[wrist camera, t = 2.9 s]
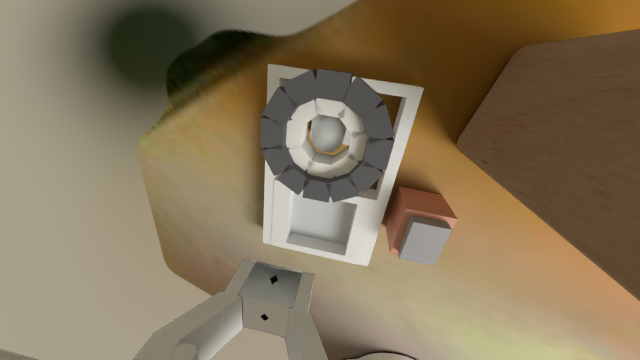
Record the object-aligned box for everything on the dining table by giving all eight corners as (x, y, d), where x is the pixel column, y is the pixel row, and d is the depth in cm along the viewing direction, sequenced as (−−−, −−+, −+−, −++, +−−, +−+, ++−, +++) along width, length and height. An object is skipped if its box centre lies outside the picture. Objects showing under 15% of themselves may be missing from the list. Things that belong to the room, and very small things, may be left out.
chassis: (367, 252, 32) (369, 312, 24) (269, 231, 34) (240, 281, 26) (417, 86, 22) (448, 95, 14) (276, 64, 24) (233, 61, 16)
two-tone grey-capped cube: (424, 234, 30) (438, 271, 24) (385, 226, 30) (391, 261, 25) (441, 194, 27) (462, 226, 21) (398, 186, 27) (408, 215, 22)
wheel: (372, 193, 19) (374, 212, 17) (272, 173, 20) (259, 188, 18) (403, 80, 15) (411, 83, 13) (277, 61, 16) (261, 60, 14)
